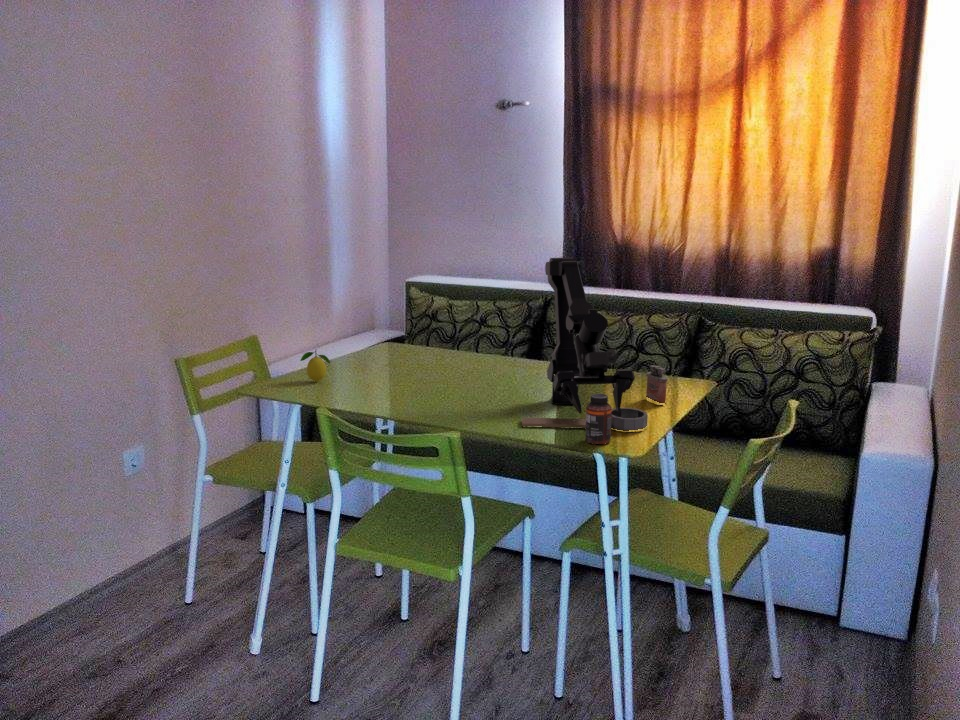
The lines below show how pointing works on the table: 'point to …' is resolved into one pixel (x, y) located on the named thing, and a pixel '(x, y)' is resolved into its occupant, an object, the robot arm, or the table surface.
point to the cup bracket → (619, 420)
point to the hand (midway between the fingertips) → (599, 411)
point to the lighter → (656, 384)
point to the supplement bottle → (598, 420)
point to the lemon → (316, 366)
